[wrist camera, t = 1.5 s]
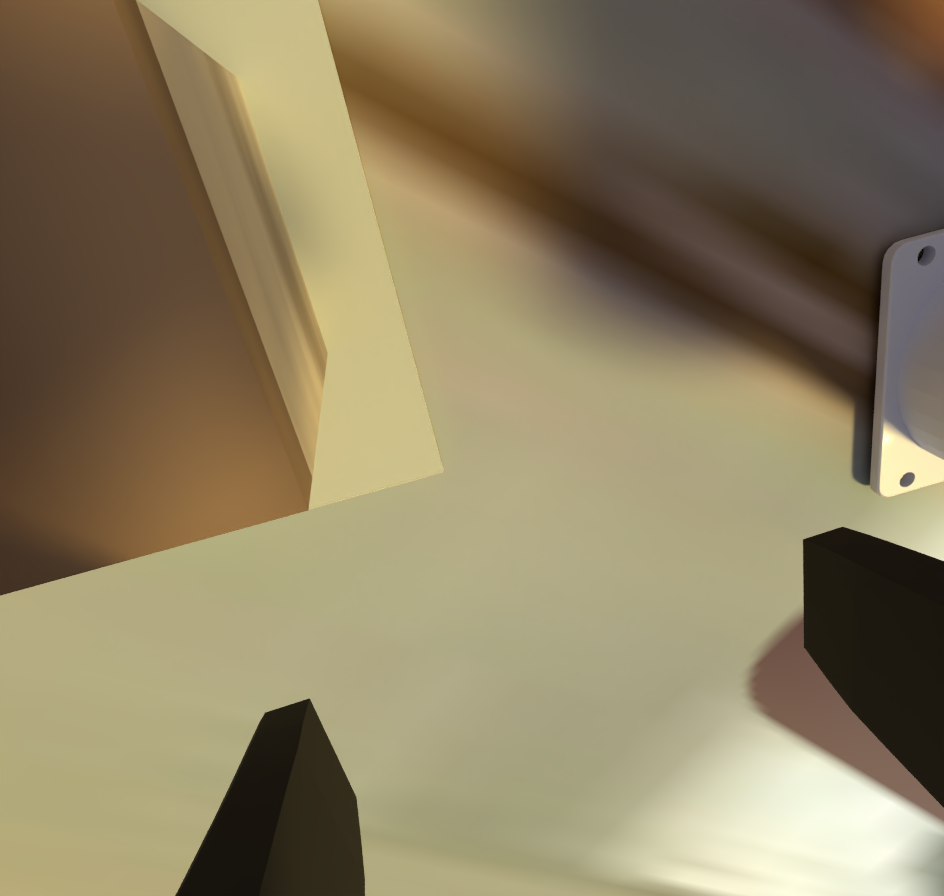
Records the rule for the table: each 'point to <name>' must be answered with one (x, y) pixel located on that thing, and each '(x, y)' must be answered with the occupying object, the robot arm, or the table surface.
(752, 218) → the table surface
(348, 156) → the mat
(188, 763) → the table surface
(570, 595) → the table surface
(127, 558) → the birch block
